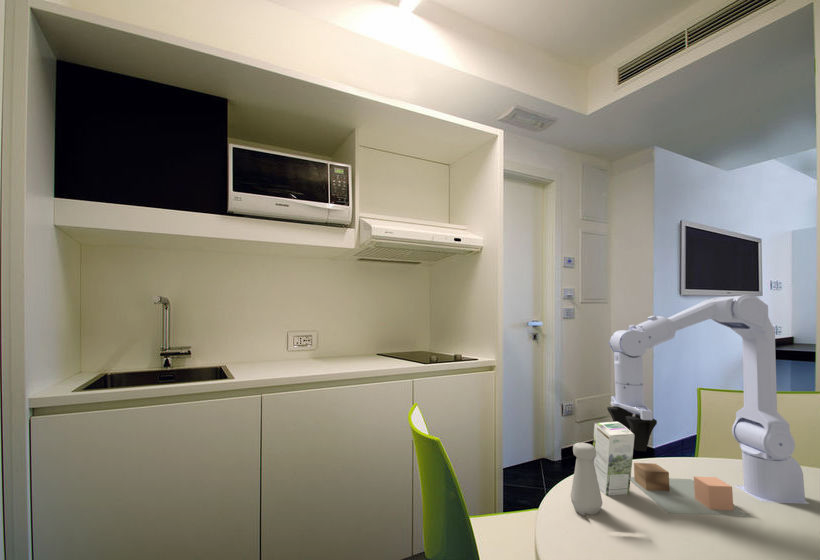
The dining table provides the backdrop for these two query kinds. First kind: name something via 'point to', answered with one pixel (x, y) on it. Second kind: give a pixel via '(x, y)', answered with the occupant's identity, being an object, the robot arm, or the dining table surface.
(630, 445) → the syrup box
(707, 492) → the terracotta cube
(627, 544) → the dining table surface
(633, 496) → the dining table surface
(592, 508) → the salt shaker
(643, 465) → the walnut block
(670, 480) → the slate board
